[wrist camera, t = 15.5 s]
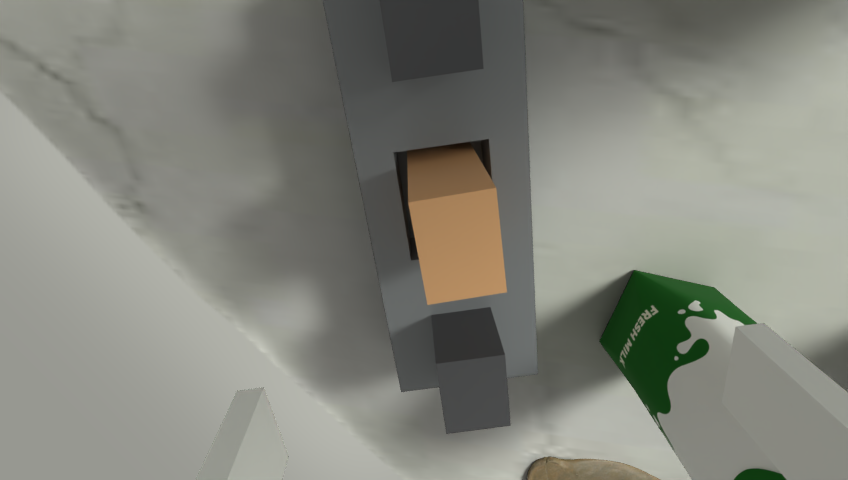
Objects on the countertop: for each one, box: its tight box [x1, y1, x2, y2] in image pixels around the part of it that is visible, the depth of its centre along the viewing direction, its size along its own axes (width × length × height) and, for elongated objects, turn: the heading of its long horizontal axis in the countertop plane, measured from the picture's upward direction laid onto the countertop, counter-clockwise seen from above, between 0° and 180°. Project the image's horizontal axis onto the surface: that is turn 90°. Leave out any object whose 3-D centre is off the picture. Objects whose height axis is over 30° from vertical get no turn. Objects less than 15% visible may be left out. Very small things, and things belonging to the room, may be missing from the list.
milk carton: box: [599, 270, 786, 480], centre depth 29 cm, size 9×9×20 cm
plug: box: [407, 142, 507, 305], centre depth 26 cm, size 6×4×10 cm
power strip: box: [323, 0, 538, 434], centre depth 26 cm, size 38×10×10 cm, turn 8°
